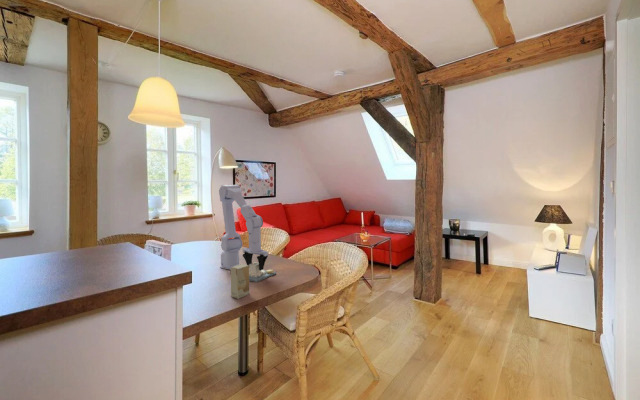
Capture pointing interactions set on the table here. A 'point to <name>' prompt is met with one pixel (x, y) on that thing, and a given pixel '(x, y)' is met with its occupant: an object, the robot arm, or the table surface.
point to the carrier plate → (262, 276)
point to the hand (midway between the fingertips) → (255, 268)
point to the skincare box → (239, 281)
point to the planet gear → (255, 270)
